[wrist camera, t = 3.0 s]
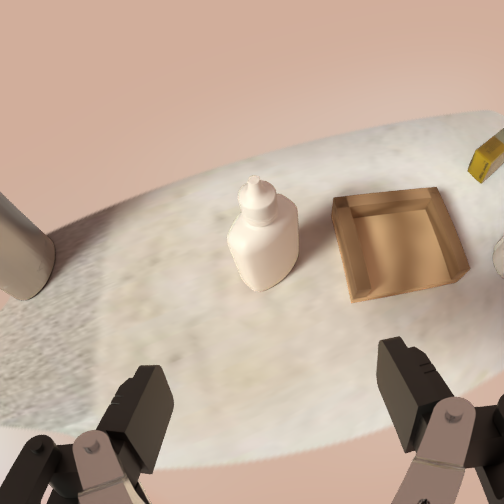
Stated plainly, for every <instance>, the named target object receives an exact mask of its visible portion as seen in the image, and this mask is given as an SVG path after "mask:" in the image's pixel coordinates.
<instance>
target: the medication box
mask: <svg viewBox="0 0 504 504" xmlns="http://www.w3.org/2000/svg"><path fill="white" fill-rule="evenodd" d="M503 163H504V128H503V129H502V130H501V131H499V132H498V133H497V134H496V135H494V136H493V137H492V138H491V139H489V140H488V141H487V142H486V143H484V144H483V145H482V146H480V147H479V148H478V149H477V150H476V151H475V153H474V155H473V157H472V160H471V162H470V164H469V167H468V172H469V173H470V174H471V175H472V176H473V177H474V178H475V179H476V180H477V181H478V182H480V183H481V184H482V183H483V182H484V181H485V180H486V179H487V178H488V177H489V176H491V175H492V174H493V173H494V172H495V171H496V170H497V169H498V168H499V167H500V166H501V165H502V164H503Z"/></svg>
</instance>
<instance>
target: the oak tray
mask: <svg viewBox="0 0 504 504" xmlns="http://www.w3.org/2000/svg"><path fill="white" fill-rule="evenodd" d="M331 217H332V221H333V225H334V229H335V233H336V237H337V241H338V245H339V249H340V254H341V258H342V262H343V267H344V271H345V276H346V280H347V285H348V289H349V294H350V299H351V303H354V302H360V301H366V300H372V299H377V298H382V297H388V296H393V295H398V294H403V293H408V292H413V291H418V290H423V289H428V288H433V287H437V286H442V285H446V284H451V283H455V282H457V281H458V280H459V279H460V278H461V277H463V276H464V275H465V274H466V273H467V272H468V271H469V270H470V267H469V264H468V261H467V258H466V256H465V253H464V250H463V247H462V245H461V242H460V240H459V237H458V235H457V232H456V230H455V227H454V225H453V222H452V220H451V218H450V215H449V213H448V211H447V209H446V206H445V204H444V202H443V200H442V198H441V195H440V193H439V191H438V189H437V187H431V188H420V189H409V190H399V191H389V192H379V193H370V194H361V195H352V196H344V197H335V198H333V206H332V214H331Z"/></svg>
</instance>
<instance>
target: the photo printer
mask: <svg viewBox="0 0 504 504" xmlns="http://www.w3.org/2000/svg"><path fill="white" fill-rule="evenodd" d="M493 262H494V266H495V268H496V270H497V272H498V273H499V275H501V276H502V278H504V237H503V238H502V239H501V240H500V241H499V242H498V243H497V244H496V246H495V247H494V254H493Z"/></svg>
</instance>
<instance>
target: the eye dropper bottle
mask: <svg viewBox="0 0 504 504" xmlns="http://www.w3.org/2000/svg"><path fill="white" fill-rule="evenodd" d="M238 202H239V205H240V209H241V213H240V214H239V215H238V216H237V218H236V219H235V221H234V223H233V224H232V226H231V228H230V230H229V233H228V236H227V243H228V246H229V249H230V251H231V254H232V256H233V259H234V261H235V264H236V266H237V269H238V271H239V273H240V276H241V278H242V280H243V281H244V282H245V283H246V284H247V285H248V286H249V287H250V288H251V289H252V290H253V291H255V292H262V291H265V290H267V289H269V288H271V287H273V286H274V285H276V284H277V283H279V282H280V281H281V280H283V279H284V278H285V277H286V276H287V274H288V273H289V272H290V271H291V269H292V268H293V266H294V264H295V262H296V260H297V258H298V255H299V232H298V210H297V207H296V205H295V204H294V203H293V202H292V201H291V200H289V199H288V198H287V197H285V196H283V195H281V194H276V190H275V188H274V186H273V185H272V184H270V183H269V182H267V181H263V180H260V178H259V177H258V176H256V175H253V176H250V177H249V178H248V183H246V184H245V185H243V186H242V188H241V189H240V190H239V192H238Z"/></svg>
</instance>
